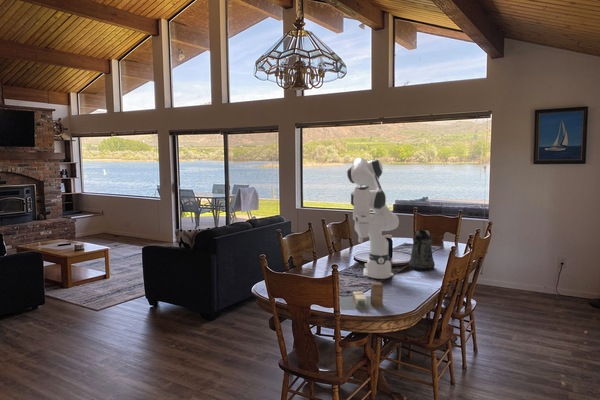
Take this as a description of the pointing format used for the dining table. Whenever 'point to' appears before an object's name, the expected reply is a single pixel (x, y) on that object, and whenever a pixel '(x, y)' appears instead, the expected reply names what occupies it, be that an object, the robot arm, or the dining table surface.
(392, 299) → the dining table surface
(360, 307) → the maple block
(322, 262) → the dining table surface
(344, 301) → the mat
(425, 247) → the beer stein
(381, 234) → the robot arm
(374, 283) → the walnut block
